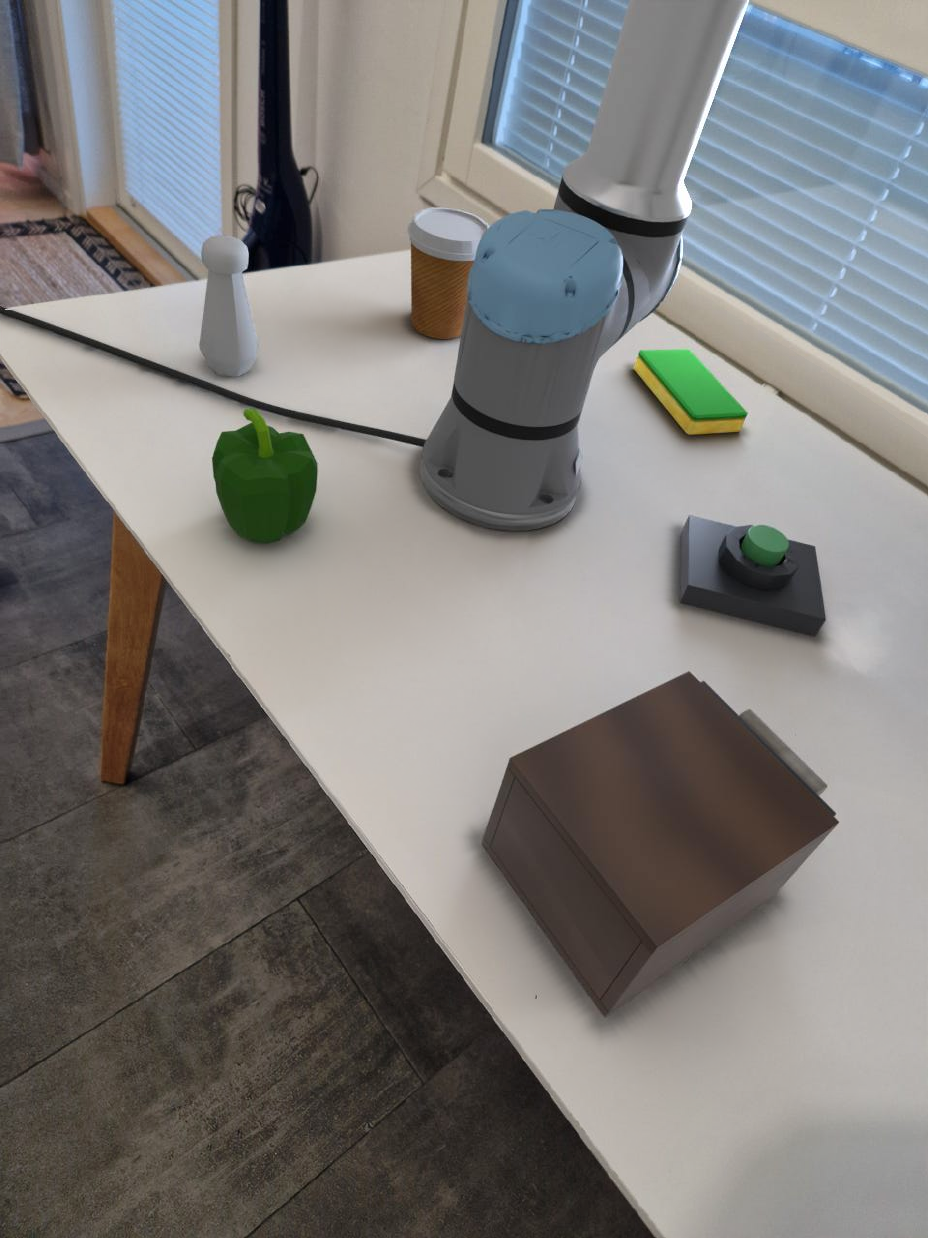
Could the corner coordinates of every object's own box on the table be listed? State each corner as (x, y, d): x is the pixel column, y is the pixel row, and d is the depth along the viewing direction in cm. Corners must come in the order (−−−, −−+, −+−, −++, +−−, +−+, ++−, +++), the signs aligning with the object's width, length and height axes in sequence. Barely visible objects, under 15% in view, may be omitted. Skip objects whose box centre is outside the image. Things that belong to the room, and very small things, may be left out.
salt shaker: (270, 367, 91) (270, 244, 81) (232, 388, 87) (227, 261, 78) (228, 345, 92) (223, 222, 83) (188, 365, 89) (178, 238, 79)
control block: (679, 603, 75) (695, 569, 72) (681, 532, 82) (695, 499, 79) (815, 637, 75) (836, 604, 72) (805, 563, 82) (824, 531, 79)
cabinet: (644, 756, 63) (689, 670, 56) (771, 899, 56) (839, 822, 49) (480, 843, 56) (509, 757, 49) (604, 1018, 49) (657, 947, 42)
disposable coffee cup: (477, 352, 100) (496, 248, 91) (394, 339, 99) (406, 234, 90) (477, 313, 106) (495, 213, 98) (400, 301, 105) (411, 199, 97)
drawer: (705, 727, 64) (745, 658, 59) (822, 849, 59) (879, 785, 53) (517, 828, 56) (543, 759, 50) (631, 982, 50) (676, 923, 45)
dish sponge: (683, 366, 105) (689, 348, 103) (741, 432, 97) (750, 413, 95) (631, 368, 103) (637, 349, 101) (687, 436, 94) (694, 416, 92)
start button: (741, 561, 75) (749, 546, 73) (739, 535, 77) (747, 520, 76) (782, 571, 75) (790, 556, 73) (779, 545, 77) (787, 530, 76)
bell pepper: (323, 552, 72) (328, 454, 65) (221, 560, 70) (216, 458, 63) (306, 489, 78) (310, 392, 71) (211, 494, 75) (205, 394, 68)
